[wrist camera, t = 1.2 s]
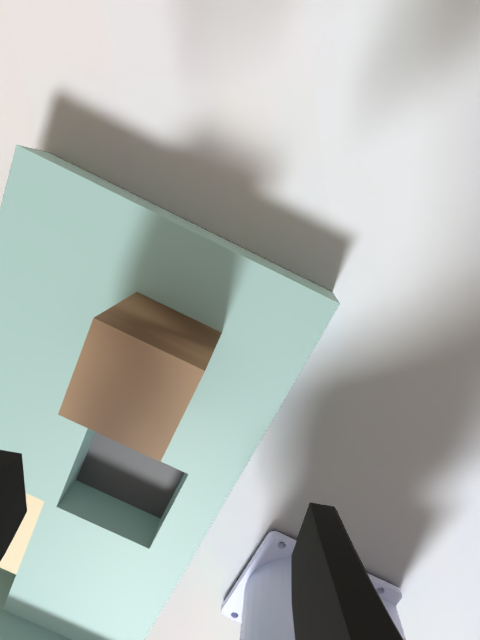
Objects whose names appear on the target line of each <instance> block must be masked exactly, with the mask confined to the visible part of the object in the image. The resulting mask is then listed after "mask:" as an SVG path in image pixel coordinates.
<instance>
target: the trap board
mask: <svg viewBox="0 0 480 640" xmlns="http://www.w3.org/2000/svg"><path fill="white" fill-rule="evenodd" d="M136 292H138V293H141V294H143V295H145V296H147V297H149V298H151V299H153V300H155V301H157V302H159V303H161V304H163V305H165V306H168V307H170V308H172V309H174V310H176V311H178V312H180V313H182V314H184V315H186V316H188V317H190V318H192V319H195V320H197V321H199V322H201V323H203V324H205V325H207V326H209V327H211V328H213V329H215V330H217V331H219V332H222V334H221V336H220V338H219V341H218V343H217V345H216V348H215V350H214V352H213V354H212V357H211V359H210V361H209V363H208V366H207V368H206V370H205V372H204V374H203V376H202V378H201V380H200V382H199V384H198V386H197V388H196V391H195V393H194V395H193V397H192V399H191V401H190V403H189V405H188V407H187V409H186V411H185V413H184V415H183V417H182V419H181V421H180V423H179V425H178V427H177V429H176V431H175V433H174V435H173V437H172V439H171V442H170V444H169V446H168V448H167V450H166V452H165V454H164V456H163V458H162V460H161V462H159V461H157V460H155V459H153V458H151V457H148V456H146V455H144V454H142V453H140V452H138V451H136V450H133V449H131V448H129V447H127V446H125V445H123V444H120V443H118V442H116V441H114V440H112V439H110V438H107V437H105V436H103V435H101V434H99V433H97V432H95V431H92V430H90V429H88V428H86V427H84V426H82V425H79V424H77V423H75V422H73V421H71V420H69V419H66V418H64V417H62V416H60V415H58V413H59V410H60V408H61V405H62V402H63V399H64V397H65V394H66V391H67V388H68V386H69V383H70V380H71V378H72V375H73V372H74V369H75V367H76V364H77V361H78V358H79V356H80V353H81V350H82V348H83V345H84V342H85V339H86V337H87V334H88V331H89V328H90V326H91V323H92V320H93V318H94V317H96V316H97V315H99V314H101V313H102V312H104V311H106V310H107V309H109V308H111V307H112V306H114V305H116V304H117V303H119V302H121V301H122V300H124V299H126V298H127V297H129V296H131V295H132V294H134V293H136ZM339 304H340V303H339V302H338V300H337V298H336V297H335V295H334V294H333V292H331V291H329V290H327V289H325V288H323V287H321V286H319V285H317V284H315V283H313V282H311V281H309V280H307V279H305V278H303V277H301V276H299V275H297V274H295V273H293V272H291V271H289V270H287V269H284V268H282V267H280V266H278V265H276V264H274V263H272V262H270V261H268V260H266V259H264V258H262V257H260V256H258V255H256V254H254V253H252V252H250V251H248V250H246V249H244V248H242V247H240V246H238V245H236V244H234V243H232V242H230V241H228V240H226V239H224V238H222V237H219V236H217V235H215V234H213V233H211V232H209V231H207V230H205V229H203V228H201V227H199V226H197V225H195V224H193V223H191V222H189V221H187V220H185V219H183V218H181V217H179V216H177V215H175V214H173V213H171V212H169V211H167V210H165V209H163V208H161V207H159V206H157V205H154V204H152V203H150V202H148V201H146V200H144V199H142V198H140V197H138V196H136V195H134V194H132V193H130V192H128V191H126V190H124V189H122V188H120V187H118V186H116V185H114V184H112V183H110V182H108V181H106V180H104V179H102V178H100V177H98V176H96V175H94V174H92V173H89V172H87V171H85V170H83V169H81V168H79V167H77V166H75V165H73V164H71V163H69V162H67V161H65V160H63V159H61V158H59V157H57V156H55V155H53V154H51V153H49V152H45V151H40V150H36V149H32V148H28V147H24V146H20V145H16V149H15V153H14V157H13V161H12V164H11V168H10V172H9V176H8V180H7V184H6V188H5V192H4V195H3V199H2V203H1V207H0V450H5V451H10V452H16V453H22V460H23V471H24V482H25V493H26V504H27V512H26V514H25V516H24V518H23V520H22V522H21V524H20V526H19V528H18V530H17V532H16V534H15V536H14V538H13V540H12V542H11V544H10V545H9V547H8V549H7V551H6V553H5V555H4V556H3V558H2V560H1V561H0V640H145V639H146V637H147V635H148V633H149V632H150V630H151V628H152V627H153V625H154V623H155V621H156V620H157V618H158V616H159V615H160V613H161V611H162V609H163V608H164V606H165V604H166V602H167V601H168V599H169V597H170V596H171V594H172V592H173V590H174V589H175V587H176V585H177V584H178V582H179V580H180V578H181V577H182V575H183V573H184V571H185V570H186V568H187V566H188V565H189V563H190V561H191V559H192V558H193V556H194V554H195V552H196V551H197V549H198V547H199V546H200V544H201V542H202V540H203V539H204V537H205V535H206V534H207V532H208V530H209V528H210V527H211V525H212V523H213V521H214V520H215V518H216V516H217V515H218V513H219V511H220V509H221V508H222V506H223V504H224V503H225V501H226V499H227V497H228V496H229V494H230V492H231V490H232V489H233V487H234V485H235V484H236V482H237V480H238V478H239V477H240V475H241V473H242V472H243V470H244V468H245V466H246V465H247V463H248V461H249V459H250V458H251V456H252V454H253V453H254V451H255V449H256V447H257V446H258V444H259V442H260V440H261V439H262V437H263V435H264V434H265V432H266V430H267V428H268V427H269V425H270V423H271V422H272V420H273V418H274V416H275V415H276V413H277V411H278V409H279V408H280V406H281V404H282V403H283V401H284V399H285V397H286V396H287V394H288V392H289V391H290V389H291V387H292V385H293V384H294V382H295V380H296V378H297V377H298V375H299V373H300V372H301V370H302V368H303V366H304V365H305V363H306V361H307V360H308V358H309V356H310V354H311V353H312V351H313V349H314V347H315V346H316V344H317V342H318V341H319V339H320V337H321V335H322V334H323V332H324V330H325V328H326V327H327V325H328V323H329V322H330V320H331V318H332V316H333V315H334V313H335V311H336V310H337V308H338V306H339Z"/></svg>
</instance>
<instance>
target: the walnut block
mask: <svg viewBox="0 0 480 640" xmlns="http://www.w3.org/2000/svg"><path fill="white" fill-rule="evenodd" d="M221 334H222V332H219V331H217V330H215V329H213V328H211V327H209V326H207V325H205V324H203V323H201V322H199V321H197V320H195V319H192V318H190V317H188V316H186V315H184V314H182V313H180V312H178V311H176V310H174V309H172V308H170V307H168V306H165V305H163V304H161V303H159V302H157V301H155V300H153V299H151V298H149V297H147V296H145V295H143V294H141V293H138V292H136V293H134V294H132V295H131V296H129V297H127V298H126V299H124V300H122V301H121V302H119V303H117V304H116V305H114V306H112V307H111V308H109V309H107V310H106V311H104V312H102V313H101V314H99V315H97V316H96V317H94V318H93V320H92V323H91V326H90V328H89V331H88V334H87V337H86V339H85V342H84V345H83V348H82V350H81V353H80V356H79V358H78V361H77V364H76V367H75V369H74V372H73V375H72V378H71V380H70V383H69V386H68V388H67V391H66V394H65V397H64V399H63V402H62V405H61V408H60V410H59V413H58V415H60V416H62V417H64V418H66V419H69V420H71V421H73V422H75V423H77V424H79V425H82V426H84V427H86V428H88V429H90V430H92V431H95V432H97V433H99V434H101V435H103V436H105V437H107V438H110V439H112V440H114V441H116V442H118V443H120V444H123V445H125V446H127V447H129V448H131V449H133V450H136V451H138V452H140V453H142V454H144V455H146V456H148V457H151V458H153V459H155V460H157V461H159V462H161V460H162V458H163V456H164V454H165V452H166V450H167V448H168V446H169V444H170V442H171V439H172V437H173V435H174V433H175V431H176V429H177V427H178V425H179V423H180V421H181V419H182V417H183V415H184V413H185V411H186V409H187V407H188V405H189V403H190V401H191V399H192V397H193V395H194V393H195V391H196V388H197V386H198V384H199V382H200V380H201V378H202V376H203V374H204V372H205V370H206V368H207V366H208V363H209V361H210V359H211V357H212V354H213V352H214V350H215V348H216V345H217V343H218V341H219V338H220V336H221Z"/></svg>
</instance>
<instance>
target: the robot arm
mask: <svg viewBox="0 0 480 640" xmlns="http://www.w3.org/2000/svg"><path fill="white" fill-rule="evenodd" d="M26 512H27V504H26V493H25V482H24V471H23V460H22V453H16V452H10V451H5V450H0V561H1V560H2V558H3V556H4V555H5V553H6V551H7V549H8V547H9V545H10V544H11V542H12V540H13V538H14V536H15V534H16V532H17V530H18V528H19V526H20V524H21V522H22V520H23V518H24V516H25V514H26ZM279 542H284V543H279ZM380 587H381V588H380ZM401 598H402V594H401V590H400V589H399V588H398V587H396V586H394V585H392V584H390V583H388V582H386V581H383V580H381V579H379V578H377V577H375V576H373V575H370V574H368V573H367V572H366V570H365V568H364V566H363V564H362V562H361V560H360V558H359V556H358V554H357V552H356V550H355V548H354V546H353V544H352V542H351V540H350V538H349V536H348V534H347V531H346V529H345V527H344V525H343V523H342V521H341V519H340V516H339V514H338V512H337V510H336V509H335V507H333V506H327V505H321V504H315V503H310V504H309V507H308V509H307V512H306V515H305V518H304V521H303V524H302V527H301V530H300V532H299V535H298V538H297V540H295V539H292V538H290V537H288V536H286V535H284V534H282V533H279V532H277V531H271V532H269V533H268V534H267V536H266V537H265V539H264V540H263V542H262V544H261V545H260V547H259V548H258V550H257V551H256V553H255V554H254V556H253V557H252V559H251V560H250V562H249V564H248V565H247V567H246V568H245V570H244V571H243V573H242V574H241V576H240V577H239V579H238V580H237V582H236V584H235V585H234V587H233V588H232V590H231V591H230V593H229V594H228V596H227V597H226V599H225V601H224V602H223V604H222V606H221V613H222V614H223V615H224V616H226V617H228V618H230V619H232V620H234V621H237V622H239V623H241V630H240V640H406V639H405V636H404V632H403V629H402V626H401V622H400V619H399V615H398V612H397V609H396V605H397V603H398V602H399V601H400V600H401Z"/></svg>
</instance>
